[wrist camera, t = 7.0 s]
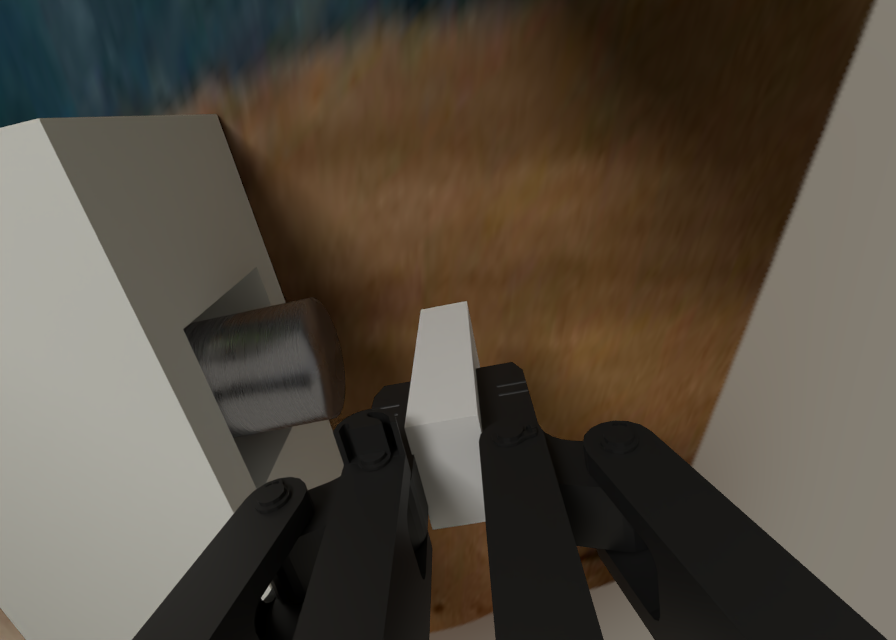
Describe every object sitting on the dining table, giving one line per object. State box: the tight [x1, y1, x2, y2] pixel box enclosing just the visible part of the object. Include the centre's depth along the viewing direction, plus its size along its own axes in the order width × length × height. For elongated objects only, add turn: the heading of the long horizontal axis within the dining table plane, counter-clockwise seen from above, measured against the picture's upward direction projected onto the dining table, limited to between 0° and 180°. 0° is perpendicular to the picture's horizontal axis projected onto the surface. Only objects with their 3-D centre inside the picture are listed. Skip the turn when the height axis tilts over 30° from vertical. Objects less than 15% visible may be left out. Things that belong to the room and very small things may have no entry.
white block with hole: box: [0, 114, 344, 640], centre depth 17 cm, size 8×16×8 cm, turn 12°
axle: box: [183, 297, 345, 438], centre depth 17 cm, size 17×4×4 cm, turn 102°
